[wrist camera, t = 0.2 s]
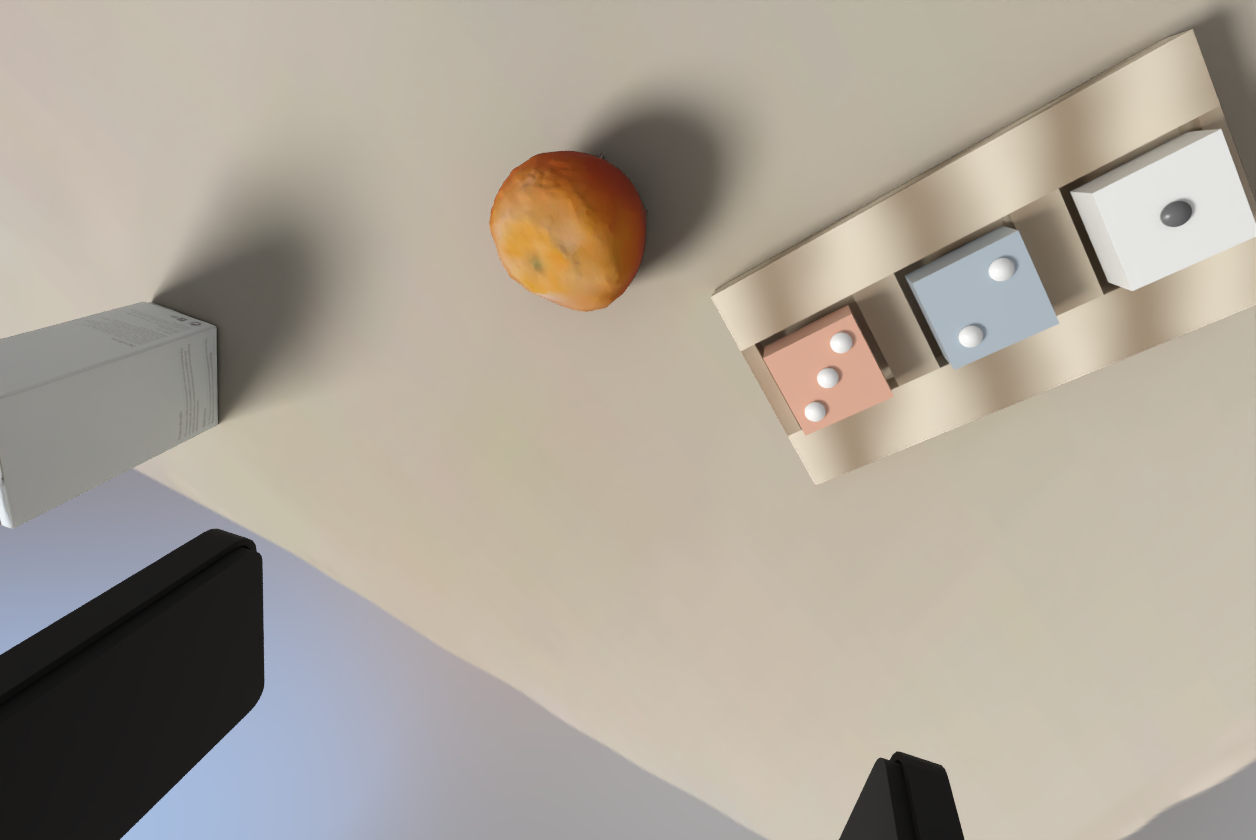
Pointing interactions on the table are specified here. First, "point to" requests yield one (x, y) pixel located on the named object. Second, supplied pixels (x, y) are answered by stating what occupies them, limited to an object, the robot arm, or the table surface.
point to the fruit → (570, 229)
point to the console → (970, 208)
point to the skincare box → (99, 401)
